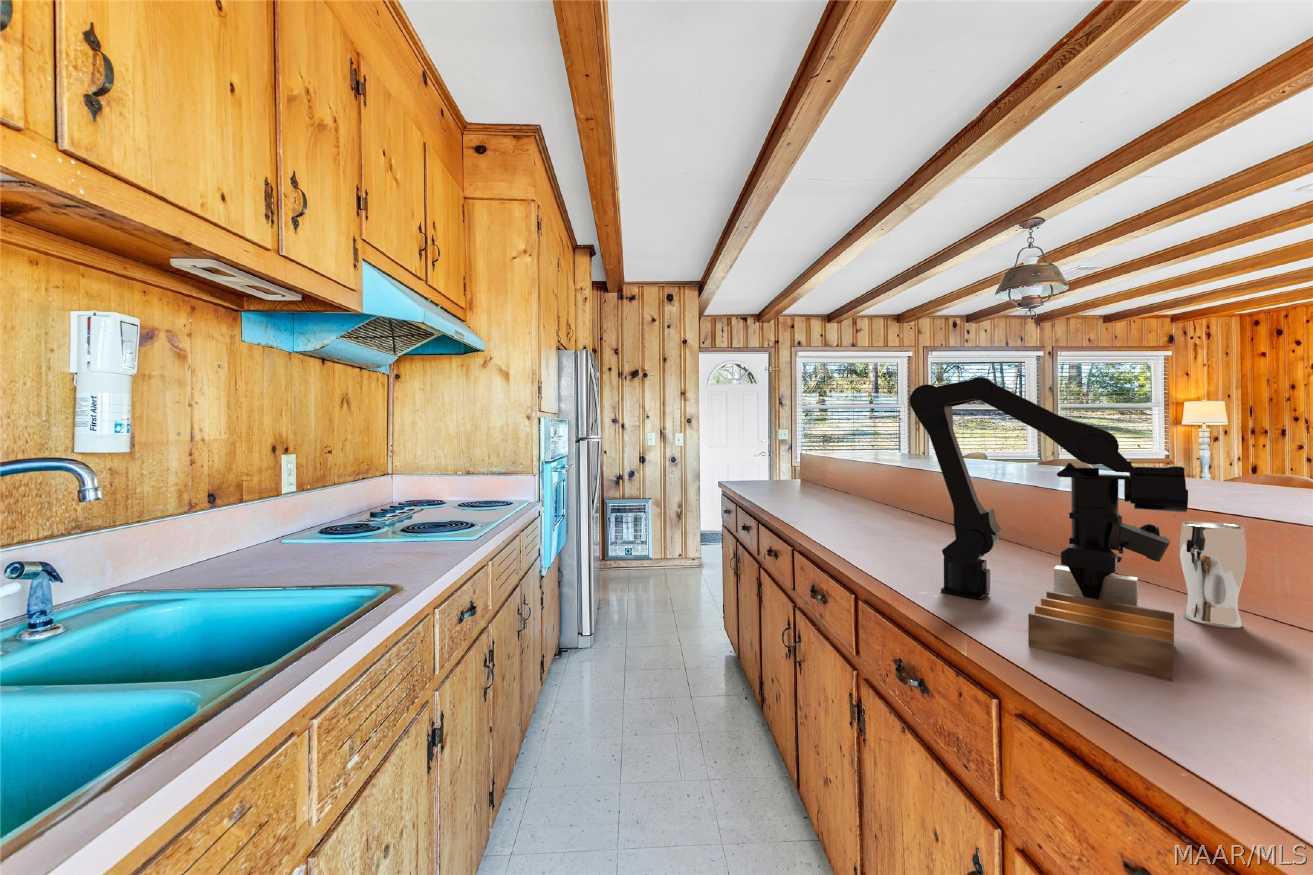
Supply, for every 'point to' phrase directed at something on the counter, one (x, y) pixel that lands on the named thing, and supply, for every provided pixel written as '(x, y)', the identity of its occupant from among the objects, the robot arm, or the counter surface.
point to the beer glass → (1213, 571)
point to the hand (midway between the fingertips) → (1094, 602)
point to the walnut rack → (1105, 633)
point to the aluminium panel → (1112, 589)
